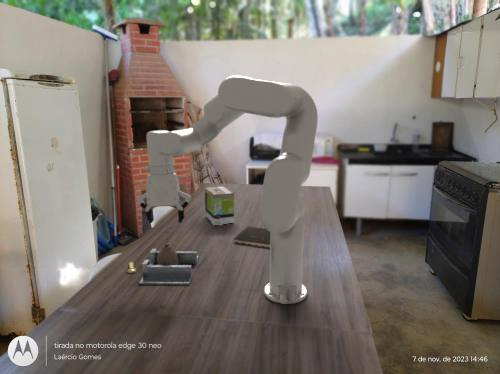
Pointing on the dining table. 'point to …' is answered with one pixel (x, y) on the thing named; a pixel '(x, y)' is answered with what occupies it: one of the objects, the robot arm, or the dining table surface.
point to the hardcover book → (254, 236)
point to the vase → (167, 256)
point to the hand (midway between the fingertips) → (166, 221)
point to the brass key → (131, 268)
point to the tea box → (219, 205)
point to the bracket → (168, 269)
